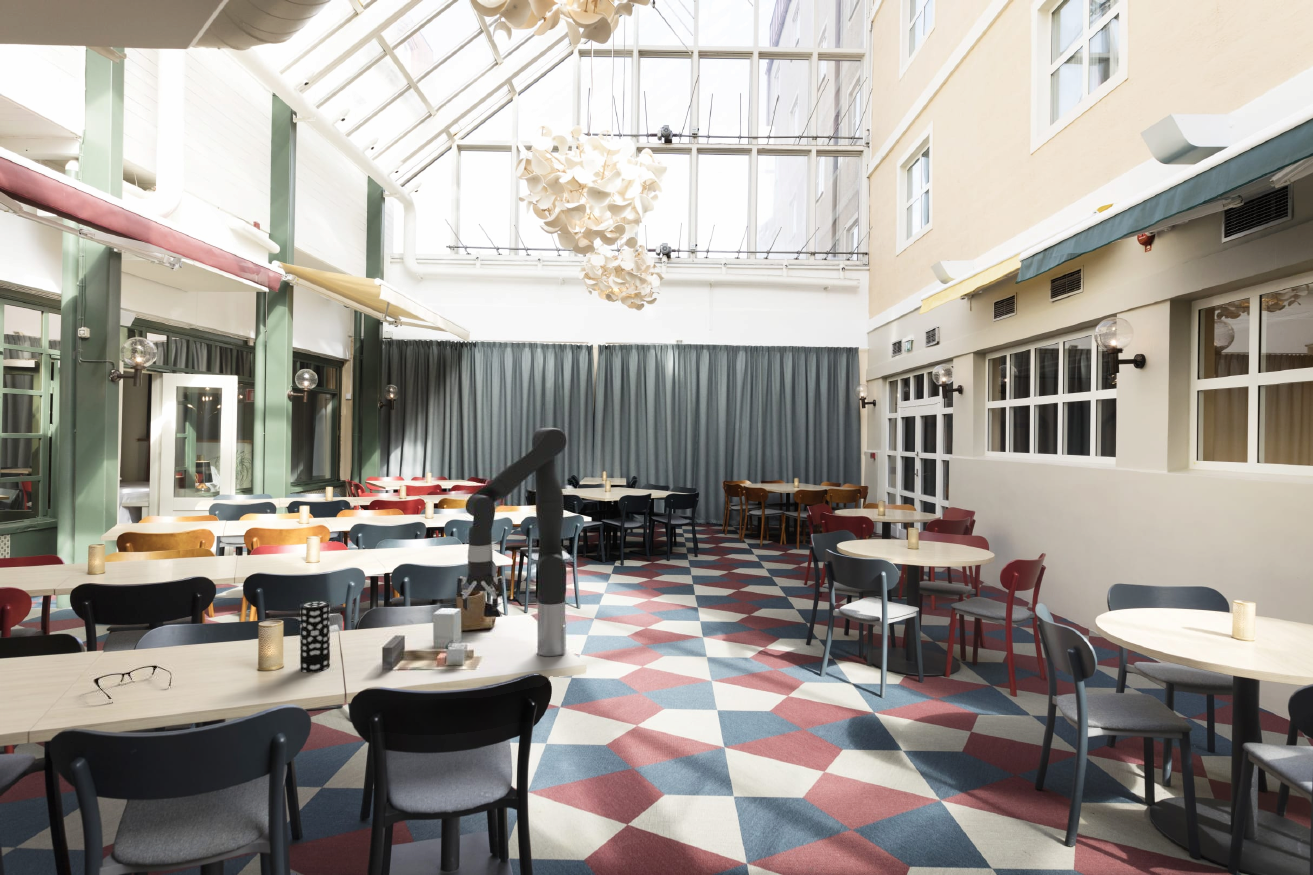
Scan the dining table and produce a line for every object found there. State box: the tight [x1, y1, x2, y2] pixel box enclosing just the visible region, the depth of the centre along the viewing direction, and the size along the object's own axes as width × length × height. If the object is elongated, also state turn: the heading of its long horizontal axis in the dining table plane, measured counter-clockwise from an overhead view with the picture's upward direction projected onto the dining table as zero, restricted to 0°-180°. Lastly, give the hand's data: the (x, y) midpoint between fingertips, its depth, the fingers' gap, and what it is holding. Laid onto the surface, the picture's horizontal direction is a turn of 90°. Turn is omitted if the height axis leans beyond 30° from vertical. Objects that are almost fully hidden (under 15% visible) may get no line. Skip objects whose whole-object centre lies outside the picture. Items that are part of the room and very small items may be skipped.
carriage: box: [444, 639, 468, 665], centre depth 218 cm, size 5×6×6 cm
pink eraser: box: [437, 653, 446, 665], centre depth 218 cm, size 2×4×2 cm, turn 3°
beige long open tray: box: [381, 634, 484, 672], centre depth 218 cm, size 28×12×8 cm, turn 93°
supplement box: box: [432, 607, 462, 648], centre depth 238 cm, size 7×7×13 cm
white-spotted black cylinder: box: [299, 600, 331, 674], centre depth 217 cm, size 8×8×20 cm
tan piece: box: [456, 589, 497, 631], centre depth 259 cm, size 15×12×15 cm
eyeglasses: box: [92, 664, 172, 700], centre depth 199 cm, size 16×16×4 cm
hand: (480, 609), depth 218 cm, fingers open, 8 cm apart
